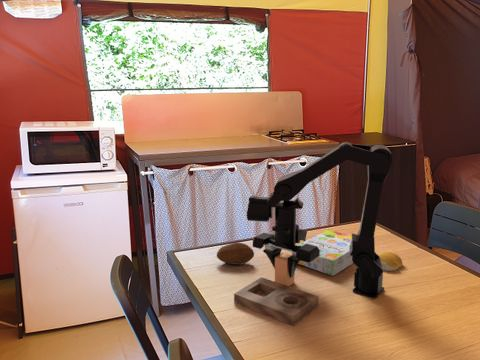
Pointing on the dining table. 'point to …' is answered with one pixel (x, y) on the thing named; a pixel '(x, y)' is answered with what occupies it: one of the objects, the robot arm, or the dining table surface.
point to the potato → (235, 253)
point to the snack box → (330, 252)
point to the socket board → (277, 300)
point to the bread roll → (390, 261)
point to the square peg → (283, 270)
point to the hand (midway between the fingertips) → (284, 275)
